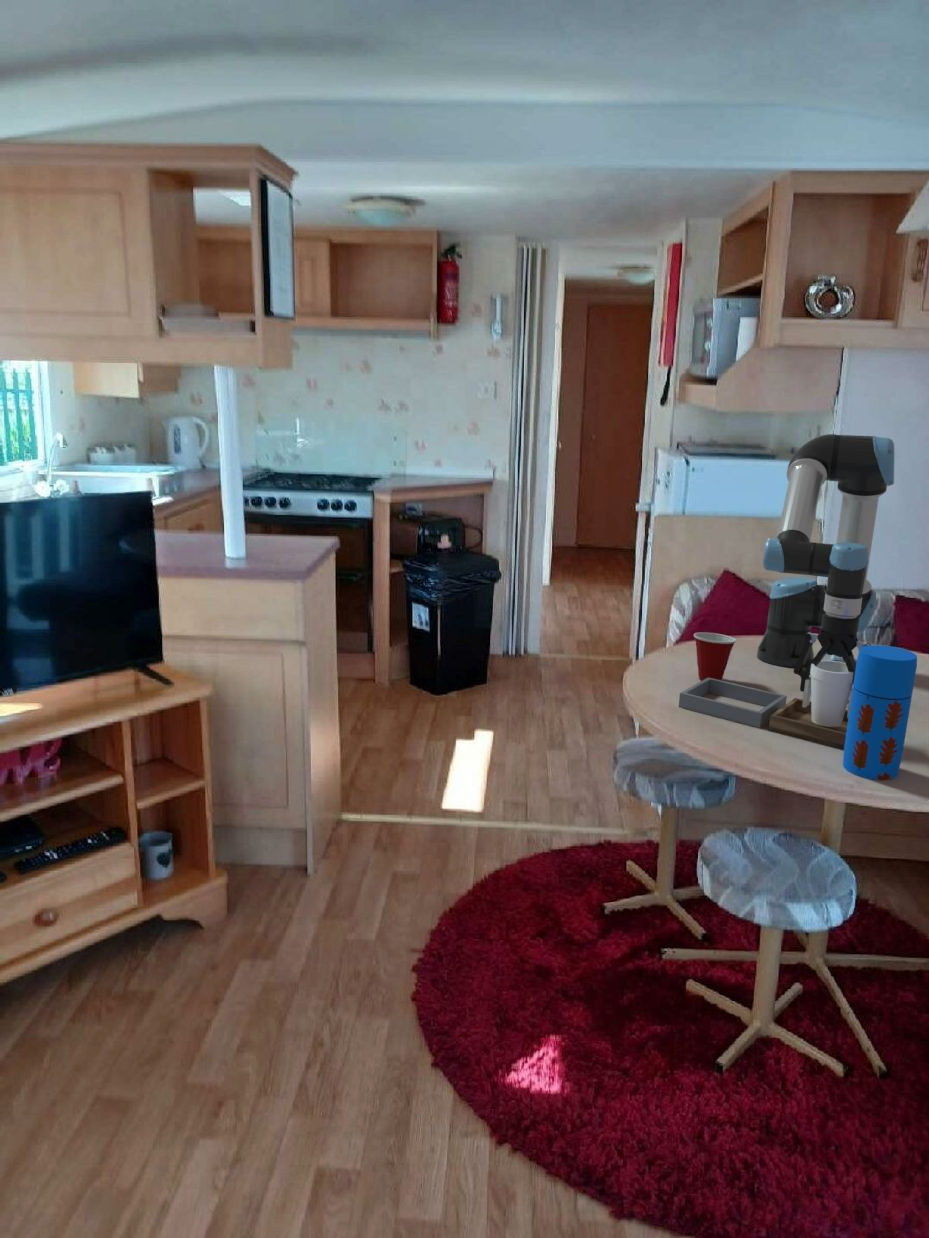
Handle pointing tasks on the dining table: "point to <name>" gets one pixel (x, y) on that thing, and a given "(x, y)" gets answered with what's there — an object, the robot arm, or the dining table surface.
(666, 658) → the dining table surface
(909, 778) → the dining table surface
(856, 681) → the thermos
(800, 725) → the bin
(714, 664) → the plastic cup
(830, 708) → the foam cup
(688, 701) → the bin
